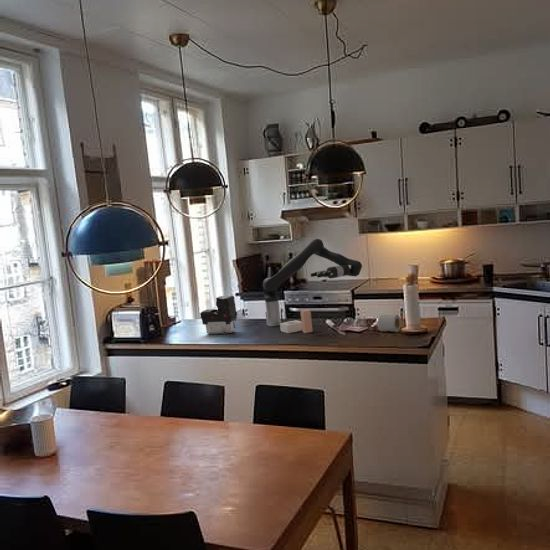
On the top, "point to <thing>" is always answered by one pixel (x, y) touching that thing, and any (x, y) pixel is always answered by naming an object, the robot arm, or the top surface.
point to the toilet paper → (389, 323)
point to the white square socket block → (291, 326)
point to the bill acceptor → (220, 316)
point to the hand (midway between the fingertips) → (314, 275)
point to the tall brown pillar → (306, 321)
